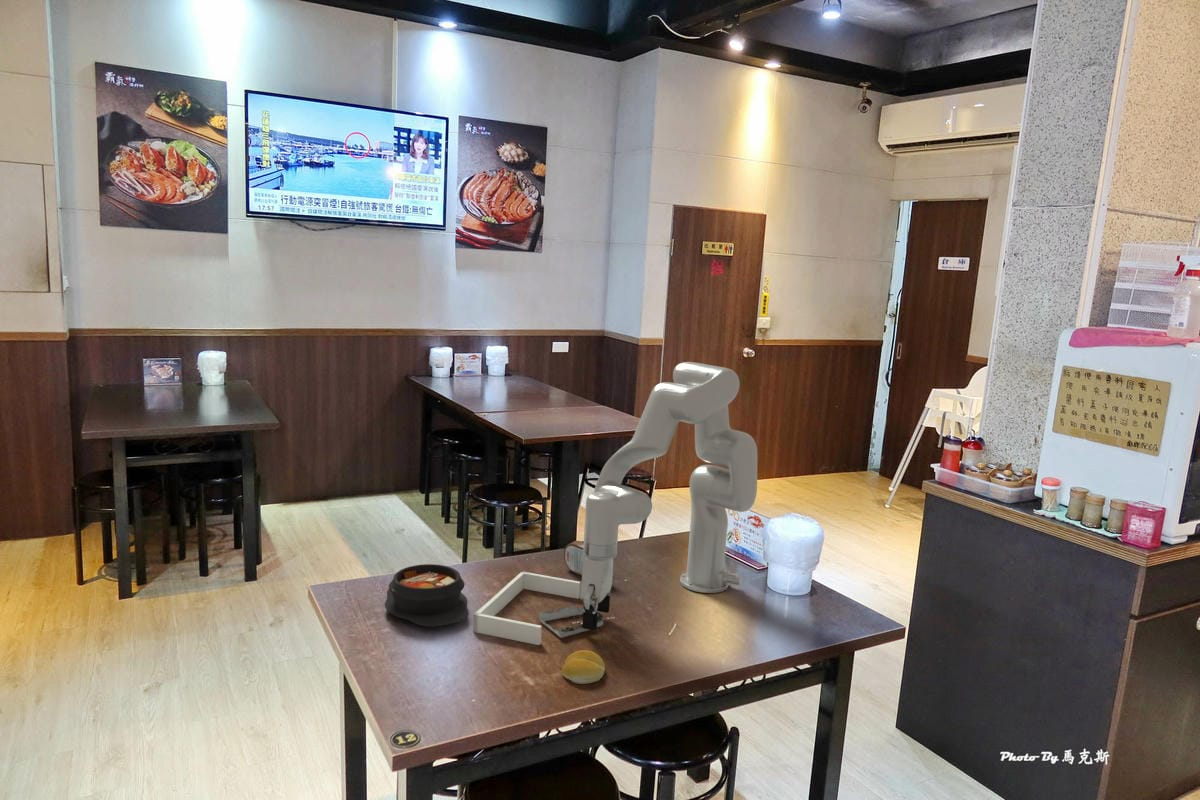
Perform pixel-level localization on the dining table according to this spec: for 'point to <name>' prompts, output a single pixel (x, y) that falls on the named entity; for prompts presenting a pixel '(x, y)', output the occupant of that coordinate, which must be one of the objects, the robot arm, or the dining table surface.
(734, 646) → the dining table surface
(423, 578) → the casserole
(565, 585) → the box
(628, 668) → the dining table surface
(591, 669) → the bread roll
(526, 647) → the dining table surface
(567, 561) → the tin
